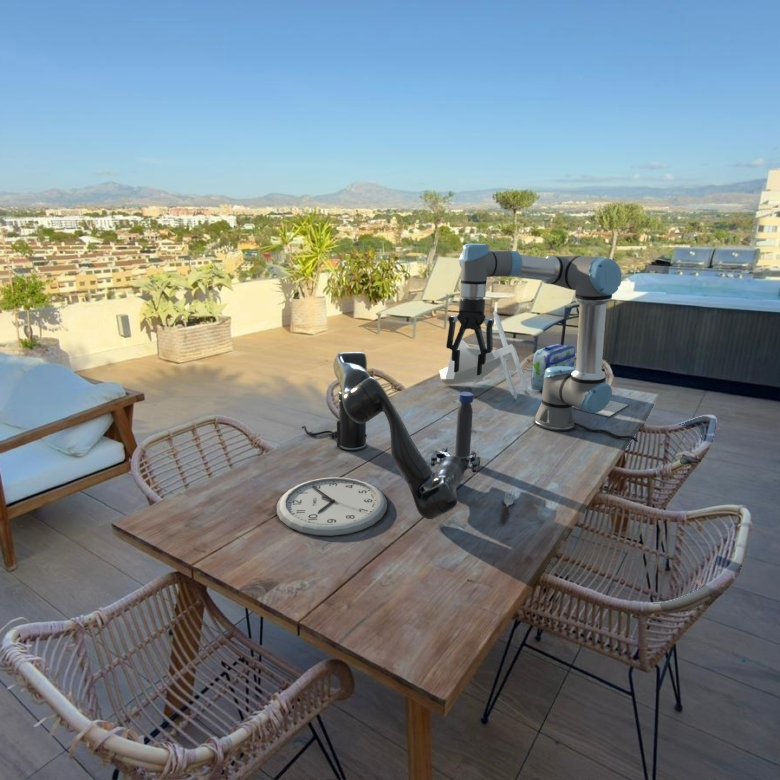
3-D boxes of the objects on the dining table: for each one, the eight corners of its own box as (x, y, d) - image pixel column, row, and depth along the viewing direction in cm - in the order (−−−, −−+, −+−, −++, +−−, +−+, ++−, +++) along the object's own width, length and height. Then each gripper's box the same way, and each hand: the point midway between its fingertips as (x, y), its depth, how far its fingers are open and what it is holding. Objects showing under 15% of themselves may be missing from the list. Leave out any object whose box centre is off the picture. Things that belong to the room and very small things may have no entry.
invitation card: (608, 416, 214) (573, 407, 224) (608, 416, 214) (573, 408, 224) (628, 404, 229) (594, 396, 238) (628, 405, 229) (594, 397, 238)
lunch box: (547, 396, 238) (552, 351, 232) (526, 391, 246) (531, 347, 239) (574, 385, 256) (579, 343, 250) (554, 380, 263) (559, 340, 257)
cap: (469, 398, 167) (470, 391, 166) (474, 402, 163) (475, 395, 162) (457, 399, 166) (457, 392, 165) (461, 403, 162) (462, 396, 161)
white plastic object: (461, 429, 252) (437, 405, 227) (444, 352, 274) (420, 323, 250) (535, 404, 240) (518, 377, 215) (510, 326, 262) (492, 293, 237)
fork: (496, 524, 135) (497, 517, 134) (505, 496, 149) (506, 489, 148) (506, 526, 134) (507, 519, 133) (514, 497, 148) (515, 491, 148)
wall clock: (392, 527, 129) (268, 531, 127) (391, 533, 130) (269, 537, 127) (383, 473, 158) (282, 475, 155) (383, 478, 158) (282, 480, 156)
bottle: (466, 458, 173) (470, 392, 167) (471, 464, 169) (476, 397, 162) (452, 459, 172) (456, 393, 166) (457, 465, 168) (461, 397, 161)
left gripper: (475, 465, 145) (483, 443, 160) (425, 458, 150) (437, 437, 164) (473, 489, 148) (481, 465, 162) (424, 481, 152) (436, 459, 167)
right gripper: (508, 298, 154) (501, 373, 161) (445, 294, 162) (441, 366, 169) (502, 301, 148) (495, 379, 155) (437, 296, 155) (433, 371, 162)
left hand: (459, 451), depth 163 cm, fingers open, 8 cm apart
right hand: (467, 372), depth 162 cm, fingers open, 7 cm apart
